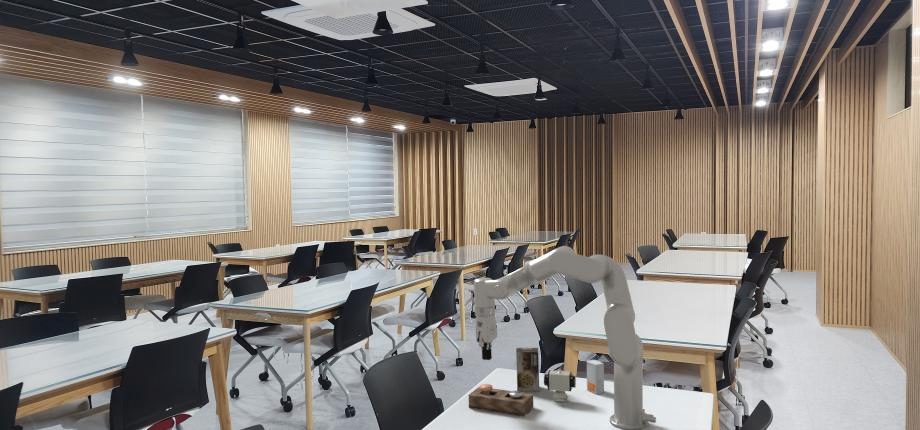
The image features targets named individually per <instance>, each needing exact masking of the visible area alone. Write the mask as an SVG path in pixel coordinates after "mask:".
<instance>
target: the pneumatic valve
mask: <svg viewBox="0 0 920 430" xmlns="http://www.w3.org/2000/svg"><path fill="white" fill-rule="evenodd" d="M543 384H544V386H546V388H547V390H548V391H554V392H552V399H553V400H554V402H556V403H565V402H566V401H567V400H568V393H566V392H572V389H573V388H575V389H576V385H577V379H576V375H574V374H573V371H566V370H561V369H558V370H550V369H549V370H548V372H547V373H544V376H543Z"/></svg>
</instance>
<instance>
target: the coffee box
mask: <svg viewBox="0 0 920 430" xmlns="http://www.w3.org/2000/svg"><path fill="white" fill-rule="evenodd" d="M515 351H516V353H515V356H516V357H515V358H516V362H515V363H516V389H517V390H516V391H521V392H524V391H525V392H531V391H532V392H536V391H537V392H538V391H539V392H540V368H539V367H540V365H539V364H540V362H539V348H538V347H516V349H515Z"/></svg>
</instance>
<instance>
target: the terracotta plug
mask: <svg viewBox="0 0 920 430" xmlns="http://www.w3.org/2000/svg"><path fill="white" fill-rule="evenodd" d="M479 387H480V390H481V391H483V394H487V395H490V391H491V390H492V388H493V385H492V384H490V383H489V384H488V383H484V384H483V383H481V384H480V385H479Z"/></svg>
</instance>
